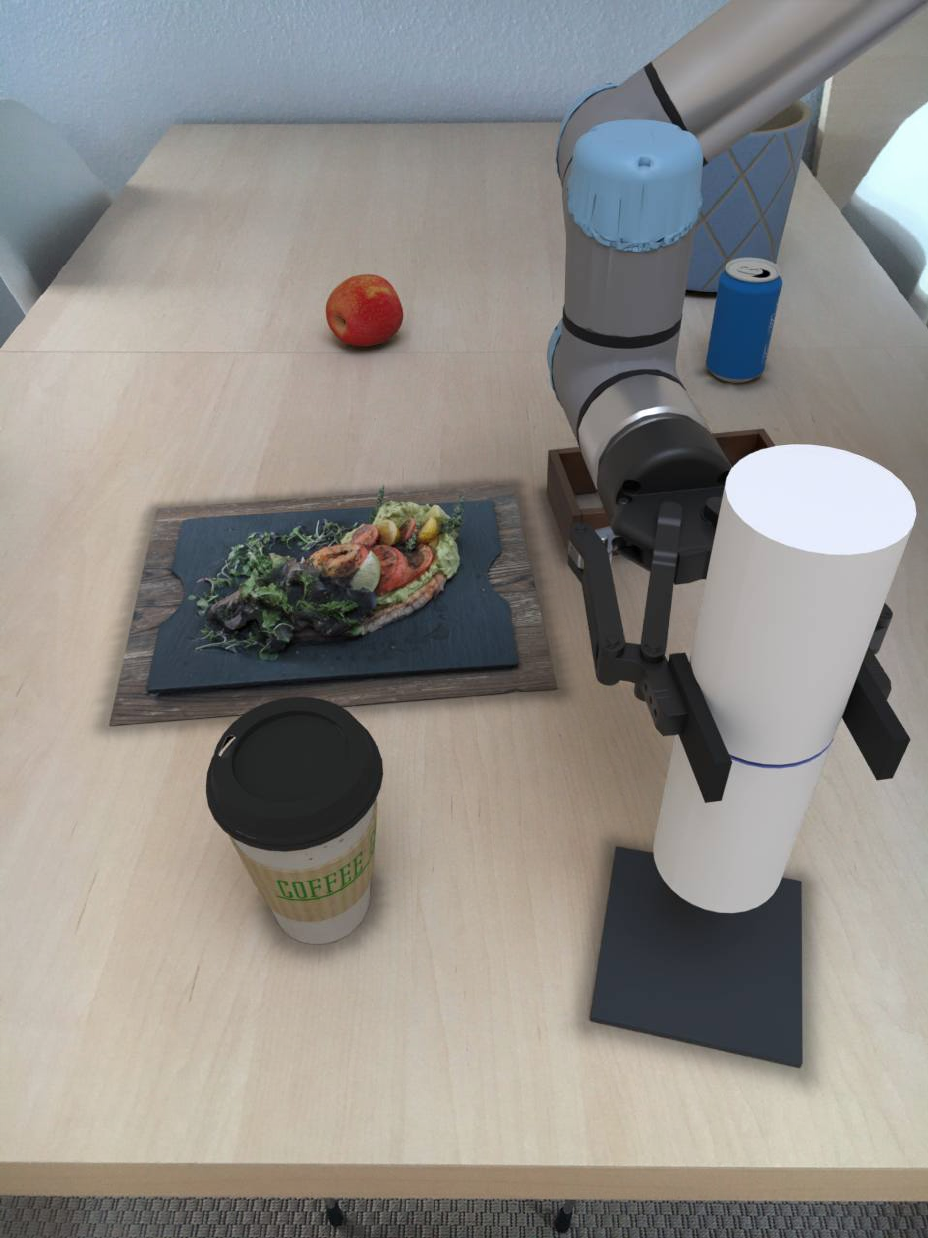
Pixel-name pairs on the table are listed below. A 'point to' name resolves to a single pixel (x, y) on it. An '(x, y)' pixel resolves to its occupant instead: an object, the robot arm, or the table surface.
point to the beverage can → (743, 319)
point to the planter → (747, 197)
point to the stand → (575, 479)
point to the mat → (700, 966)
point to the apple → (364, 310)
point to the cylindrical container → (778, 658)
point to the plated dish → (333, 604)
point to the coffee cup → (301, 811)
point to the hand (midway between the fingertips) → (806, 771)
